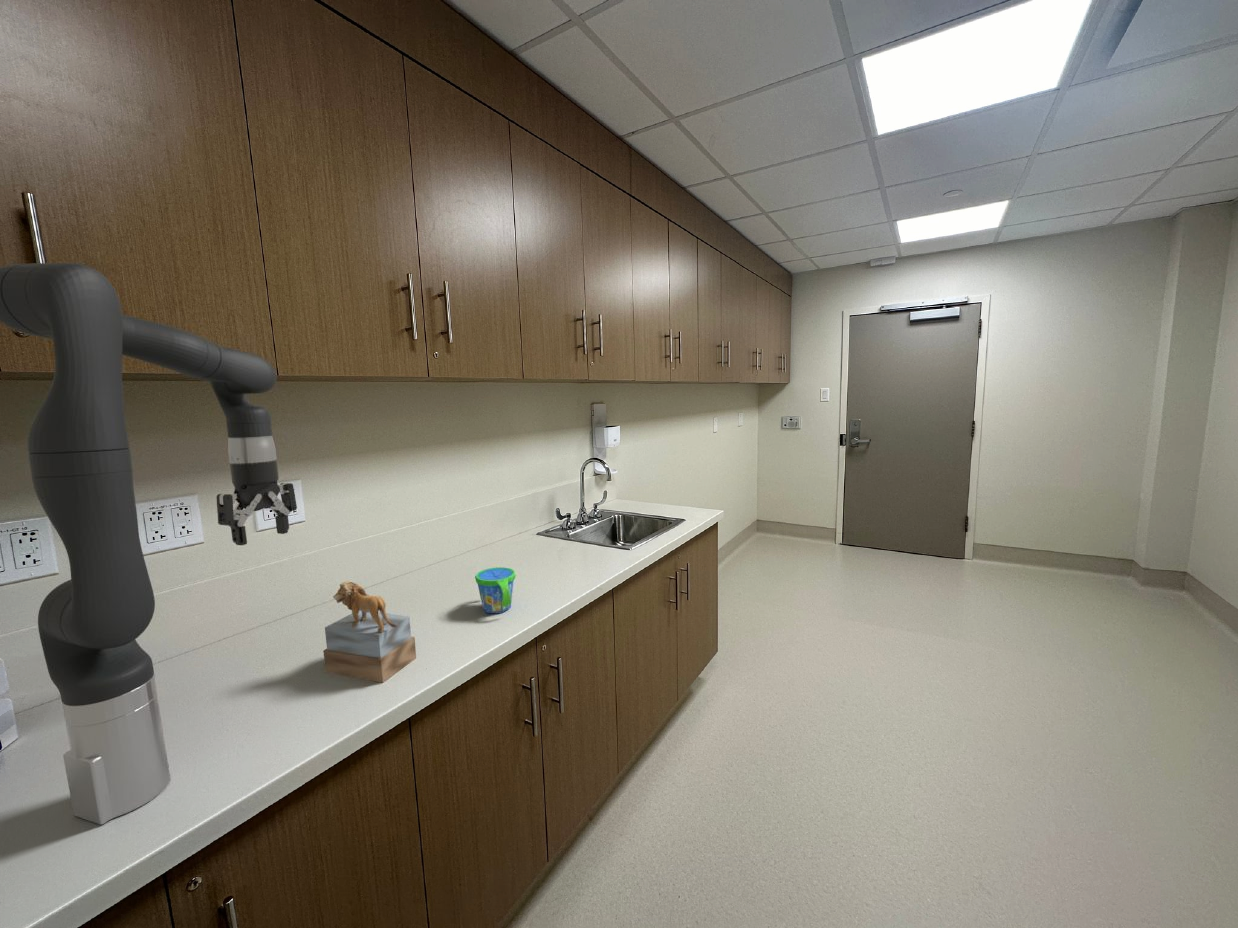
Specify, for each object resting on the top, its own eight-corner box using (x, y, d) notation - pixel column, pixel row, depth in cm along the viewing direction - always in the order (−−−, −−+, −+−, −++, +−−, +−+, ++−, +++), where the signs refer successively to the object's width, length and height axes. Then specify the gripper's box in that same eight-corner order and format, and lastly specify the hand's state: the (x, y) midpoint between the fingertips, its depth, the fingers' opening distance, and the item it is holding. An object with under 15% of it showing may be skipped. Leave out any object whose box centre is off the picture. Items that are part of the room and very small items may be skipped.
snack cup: (524, 615, 131) (522, 578, 129) (484, 624, 126) (482, 586, 125) (508, 595, 144) (506, 562, 143) (472, 602, 140) (470, 568, 138)
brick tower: (383, 682, 100) (378, 636, 99) (325, 672, 104) (320, 628, 103) (416, 657, 110) (412, 615, 108) (362, 649, 114) (358, 608, 113)
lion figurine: (332, 626, 104) (328, 585, 103) (352, 615, 109) (349, 576, 108) (388, 634, 100) (384, 592, 98) (406, 623, 105) (403, 583, 103)
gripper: (229, 464, 89) (240, 550, 91) (300, 455, 103) (308, 530, 105) (200, 463, 91) (211, 547, 93) (273, 455, 105) (281, 528, 107)
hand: (262, 538), depth 99 cm, fingers open, 8 cm apart
